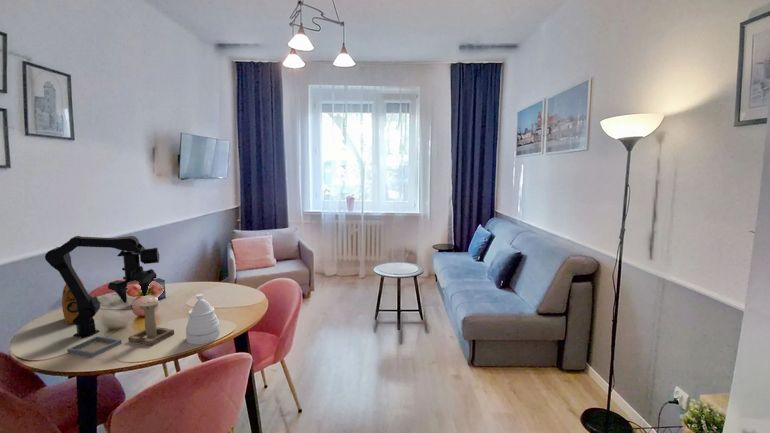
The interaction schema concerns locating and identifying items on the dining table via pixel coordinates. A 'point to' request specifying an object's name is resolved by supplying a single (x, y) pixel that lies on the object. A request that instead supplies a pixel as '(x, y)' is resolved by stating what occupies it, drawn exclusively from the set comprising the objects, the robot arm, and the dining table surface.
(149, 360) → the dining table surface
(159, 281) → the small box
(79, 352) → the frame
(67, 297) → the coffee package
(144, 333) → the socket stand
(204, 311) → the honey pot
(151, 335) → the handle
